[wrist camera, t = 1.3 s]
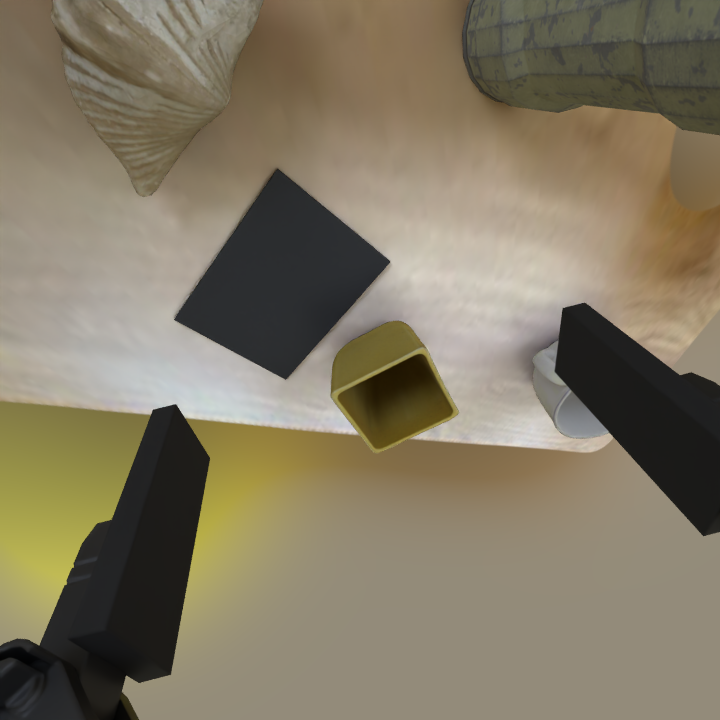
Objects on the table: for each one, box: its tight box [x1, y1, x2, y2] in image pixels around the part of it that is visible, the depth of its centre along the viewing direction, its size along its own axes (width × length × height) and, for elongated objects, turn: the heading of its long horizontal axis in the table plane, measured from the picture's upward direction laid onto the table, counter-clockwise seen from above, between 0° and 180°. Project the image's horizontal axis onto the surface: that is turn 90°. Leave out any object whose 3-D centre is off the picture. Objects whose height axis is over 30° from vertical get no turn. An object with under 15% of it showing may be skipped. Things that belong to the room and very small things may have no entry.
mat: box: [174, 169, 390, 379], centre depth 36 cm, size 12×16×1 cm
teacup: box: [533, 340, 609, 439], centre depth 43 cm, size 14×11×8 cm
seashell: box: [51, 0, 263, 197], centre depth 24 cm, size 14×9×10 cm
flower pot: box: [331, 321, 459, 453], centre depth 38 cm, size 9×9×9 cm
